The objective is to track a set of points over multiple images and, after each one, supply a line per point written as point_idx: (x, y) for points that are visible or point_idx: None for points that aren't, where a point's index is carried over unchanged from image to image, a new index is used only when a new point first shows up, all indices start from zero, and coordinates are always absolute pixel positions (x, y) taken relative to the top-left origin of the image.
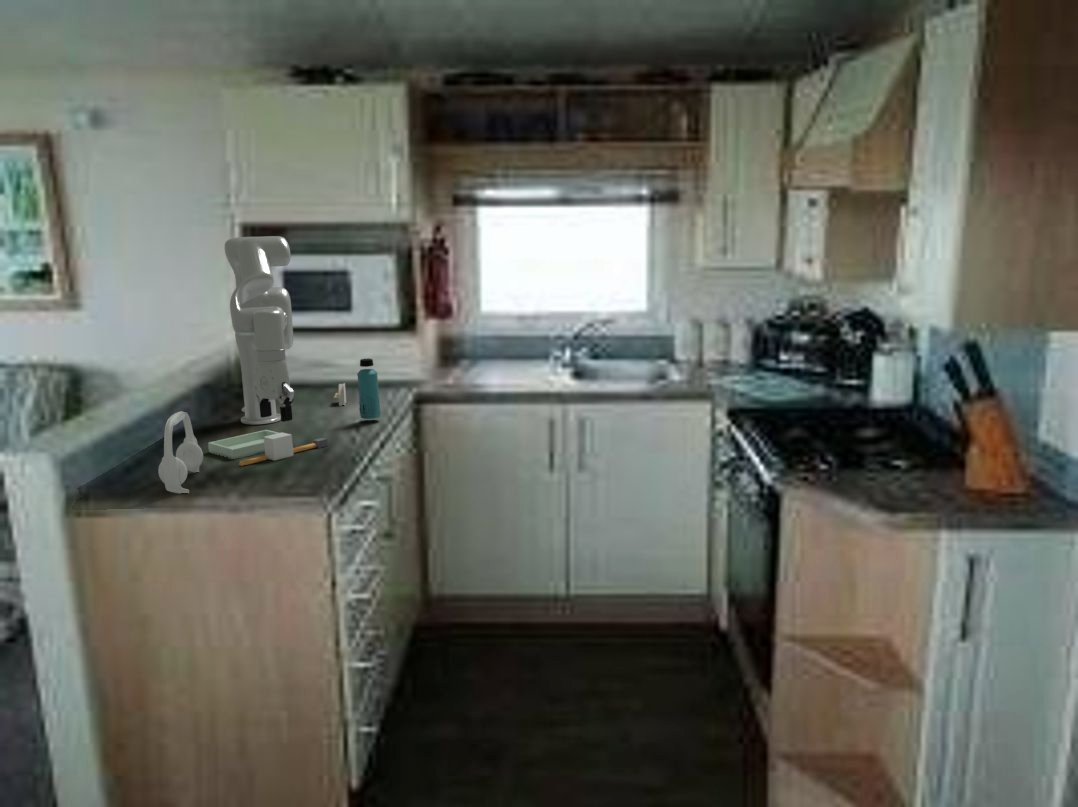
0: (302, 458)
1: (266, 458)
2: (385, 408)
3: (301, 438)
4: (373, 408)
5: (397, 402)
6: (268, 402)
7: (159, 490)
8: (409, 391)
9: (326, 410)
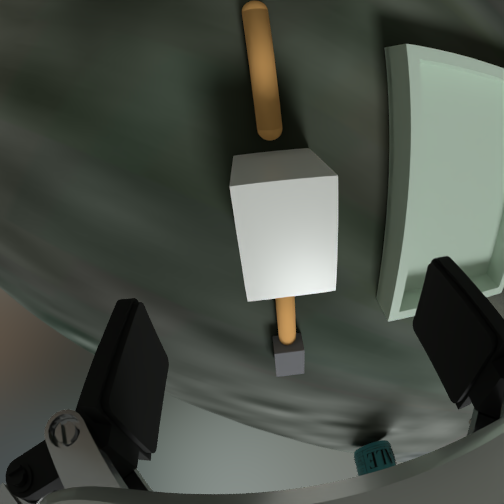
0: (181, 249)
1: (257, 129)
2: (403, 453)
3: (410, 339)
4: (359, 467)
5: (408, 460)
6: (463, 395)
7: None
8: None
9: None
